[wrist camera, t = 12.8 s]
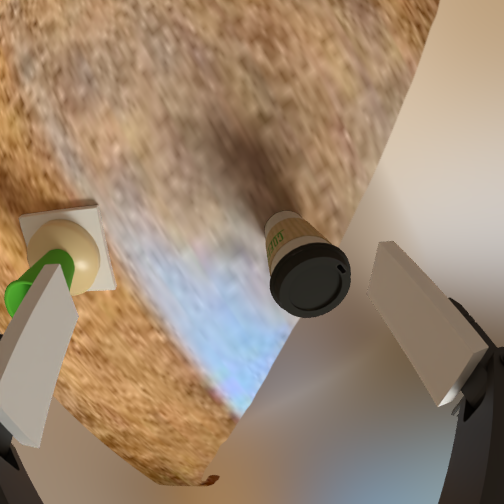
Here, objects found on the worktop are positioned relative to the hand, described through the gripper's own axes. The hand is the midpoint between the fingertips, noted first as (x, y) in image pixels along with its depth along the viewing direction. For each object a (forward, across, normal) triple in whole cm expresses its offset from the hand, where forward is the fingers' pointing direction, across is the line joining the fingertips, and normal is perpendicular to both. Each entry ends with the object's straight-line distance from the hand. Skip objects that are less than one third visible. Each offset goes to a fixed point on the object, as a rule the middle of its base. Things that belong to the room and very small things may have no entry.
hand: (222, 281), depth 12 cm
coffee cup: (+32, +11, -14) cm, 37 cm away
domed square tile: (+32, -23, -15) cm, 42 cm away
